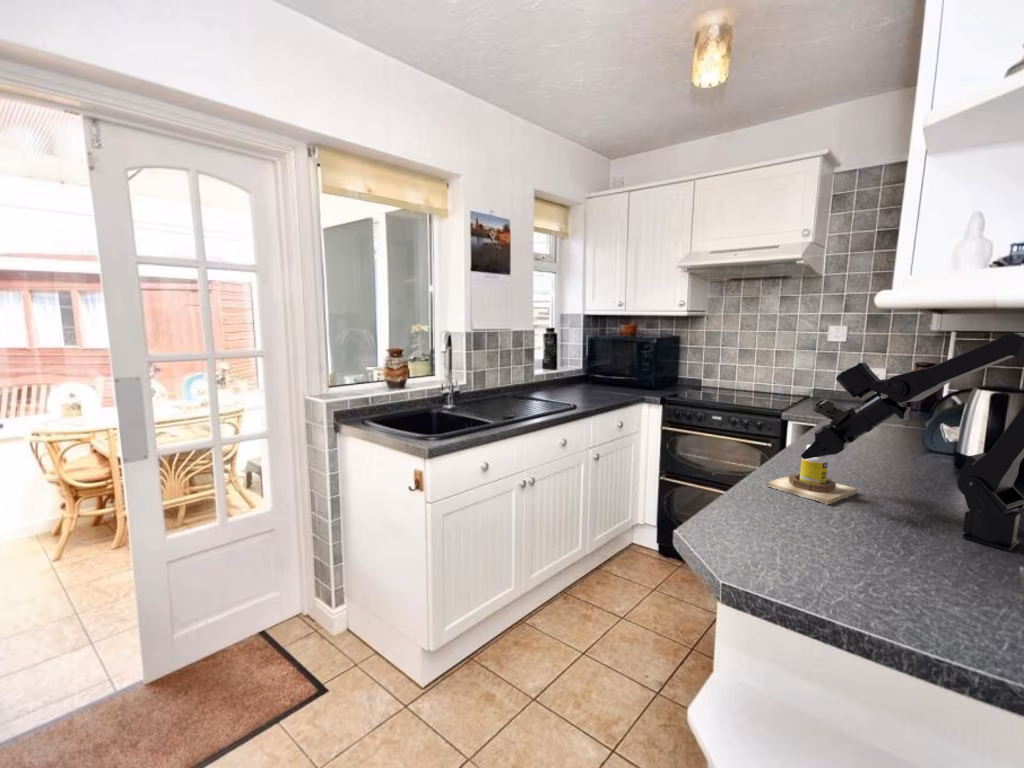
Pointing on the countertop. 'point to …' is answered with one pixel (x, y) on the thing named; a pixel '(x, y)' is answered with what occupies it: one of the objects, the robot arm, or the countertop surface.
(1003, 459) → the robot arm
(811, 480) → the supplement bottle
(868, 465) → the countertop surface
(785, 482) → the socket board
